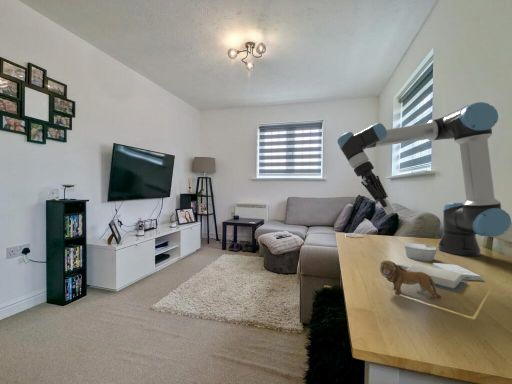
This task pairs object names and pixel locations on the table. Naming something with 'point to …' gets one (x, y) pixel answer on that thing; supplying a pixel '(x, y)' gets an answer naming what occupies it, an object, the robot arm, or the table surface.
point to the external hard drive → (458, 271)
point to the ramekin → (420, 251)
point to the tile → (438, 275)
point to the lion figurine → (407, 278)
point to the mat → (445, 287)
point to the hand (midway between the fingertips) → (390, 213)
